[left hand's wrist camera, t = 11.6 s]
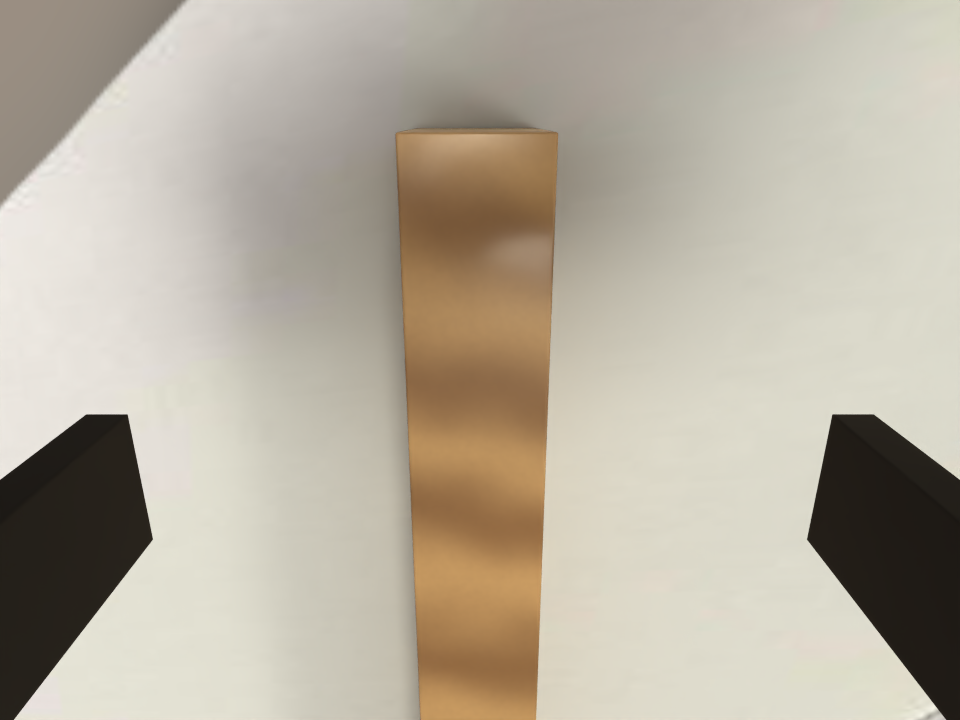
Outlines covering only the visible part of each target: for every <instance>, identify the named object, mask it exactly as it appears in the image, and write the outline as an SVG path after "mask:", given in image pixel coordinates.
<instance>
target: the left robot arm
mask: <svg viewBox="0 0 960 720" xmlns="http://www.w3.org/2000/svg"><path fill="white" fill-rule="evenodd" d="M152 540H153V538H152V533H151V528H150V523H149V518H148V513H147V508H146V503H145V498H144V493H143V488H142V483H141V478H140V474H139V469H138V464H137V459H136V454H135V449H134V444H133V439H132V434H131V429H130V424H129V419H128V415H85V416H84V417H82V418H81V419H80V420H78V421H77V422H76V423H75V424H73V425H72V426H71V427H69V428H68V429H67V430H65V431H64V432H63V433H61V434H60V435H59V436H57V437H56V438H55V439H53V440H52V441H51V442H50V443H48V444H47V445H46V446H44V447H43V448H42V449H40V450H39V451H38V452H36V453H35V454H34V455H32V456H31V457H30V458H28V459H27V460H26V461H24V462H23V463H22V464H21V465H19V466H18V467H17V468H15V469H14V470H13V471H11V472H10V473H9V474H7V475H6V476H5V477H3V478H2V479H1V480H0V720H14V719H15V717H16V716H17V715H18V714H19V712H20V711H21V710H22V708H23V707H24V706H25V705H26V703H27V702H28V701H29V699H30V698H31V697H32V695H33V694H34V693H35V692H36V690H37V689H38V688H39V686H40V685H41V684H42V683H43V681H44V680H45V679H46V677H47V676H48V675H49V673H50V672H51V671H52V670H53V668H54V667H55V666H56V664H57V663H58V662H59V660H60V659H61V658H62V657H63V655H64V654H65V653H66V651H67V650H68V649H69V648H70V646H71V645H72V644H73V642H74V641H75V640H76V638H77V637H78V636H79V635H80V633H81V632H82V631H83V629H84V628H85V627H86V626H87V624H88V623H89V622H90V620H91V619H92V618H93V616H94V615H95V614H96V613H97V611H98V610H99V609H100V607H101V606H102V605H103V603H104V602H105V601H106V600H107V598H108V597H109V596H110V594H111V593H112V592H113V591H114V589H115V588H116V587H117V585H118V584H119V583H120V581H121V580H122V579H123V578H124V576H125V575H126V574H127V572H128V571H129V570H130V569H131V567H132V566H133V565H134V563H135V562H136V561H137V559H138V558H139V557H140V556H141V554H142V553H143V552H144V550H145V549H146V548H147V546H148V545H149V544H150V543H151V541H152ZM807 540H808V541H809V543H810V544H811V545H812V546H813V548H814V549H815V550H816V552H817V553H818V554H819V556H820V557H821V558H822V559H823V561H824V562H825V563H826V565H827V566H828V567H829V569H830V570H831V571H832V572H833V574H834V575H835V576H836V578H837V579H838V580H839V581H840V583H841V584H842V585H843V587H844V588H845V589H846V591H847V592H848V593H849V594H850V596H851V597H852V598H853V600H854V601H855V602H856V603H857V605H858V606H859V607H860V609H861V610H862V611H863V613H864V614H865V615H866V616H867V618H868V619H869V620H870V622H871V623H872V624H873V626H874V627H875V628H876V629H877V631H878V632H879V633H880V635H881V636H882V637H883V638H884V640H885V641H886V642H887V644H888V645H889V646H890V648H891V649H892V650H893V651H894V653H895V654H896V655H897V657H898V658H899V659H900V660H901V662H902V663H903V664H904V666H905V667H906V668H907V670H908V671H909V672H910V673H911V675H912V676H913V677H914V679H915V680H916V681H917V682H918V684H919V685H920V686H921V688H922V689H923V690H924V692H925V693H926V694H927V695H928V697H929V698H930V699H931V701H932V702H933V703H934V705H935V706H936V707H937V708H938V710H939V711H940V712H941V714H942V715H943V716H944V717H945V719H946V720H960V480H959V479H958V478H957V477H955V476H954V475H953V474H951V473H950V472H949V471H947V470H946V469H945V468H943V467H942V466H941V465H939V464H938V463H937V462H936V461H934V460H933V459H932V458H930V457H929V456H928V455H926V454H925V453H924V452H922V451H921V450H920V449H918V448H917V447H916V446H914V445H913V444H912V443H910V442H909V441H908V440H907V439H905V438H904V437H903V436H901V435H900V434H899V433H897V432H896V431H895V430H893V429H892V428H891V427H889V426H888V425H887V424H885V423H884V422H883V421H882V420H880V419H879V418H878V417H876V416H875V415H832V419H831V424H830V429H829V434H828V439H827V444H826V449H825V454H824V459H823V464H822V469H821V474H820V478H819V483H818V488H817V493H816V498H815V503H814V508H813V513H812V518H811V523H810V528H809V533H808V538H807Z"/></svg>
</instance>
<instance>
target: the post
mask: <svg viewBox="0 0 960 720" xmlns="http://www.w3.org/2000/svg"><path fill="white" fill-rule="evenodd" d="M395 136H396V159H397V183H398V206H399V230H400V253H401V277H402V300H403V324H404V347H405V371H406V394H407V418H408V441H409V465H410V488H411V512H412V535H413V559H414V582H415V606H416V629H417V653H418V676H419V700H420V720H536V706H537V679H538V653H539V626H540V600H541V573H542V547H543V521H544V494H545V468H546V441H547V415H548V389H549V362H550V336H551V309H552V283H553V256H554V230H555V204H556V177H557V151H558V133H557V132H553V131H548V130H542V129H537V128H416V129H411V130H406V131H401V132H397V133H396V134H395Z"/></svg>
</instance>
